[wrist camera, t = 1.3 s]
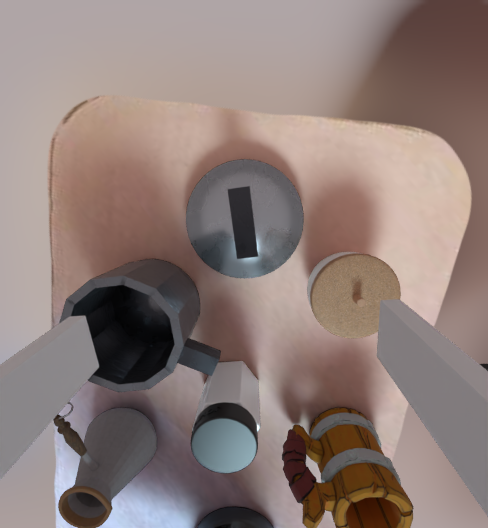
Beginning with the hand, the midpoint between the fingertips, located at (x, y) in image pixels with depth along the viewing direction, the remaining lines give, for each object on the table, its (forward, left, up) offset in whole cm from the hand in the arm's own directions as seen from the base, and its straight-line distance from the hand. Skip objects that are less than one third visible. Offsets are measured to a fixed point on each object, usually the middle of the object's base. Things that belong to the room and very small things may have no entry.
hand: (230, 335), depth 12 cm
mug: (-23, -25, -28) cm, 44 cm away
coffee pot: (-32, +8, -28) cm, 43 cm away
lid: (+4, +1, -28) cm, 28 cm away
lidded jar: (+1, -15, -28) cm, 32 cm away
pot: (-13, +7, -28) cm, 32 cm away
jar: (-21, -7, -28) cm, 36 cm away
